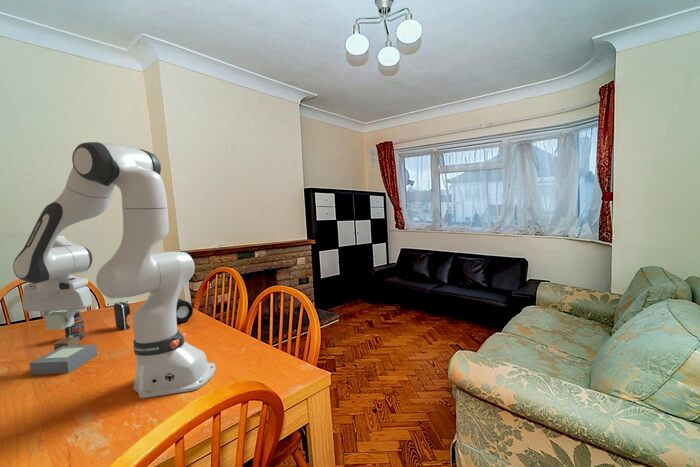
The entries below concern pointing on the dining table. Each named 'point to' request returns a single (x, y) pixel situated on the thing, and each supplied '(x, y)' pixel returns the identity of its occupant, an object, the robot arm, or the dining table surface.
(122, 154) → the robot arm
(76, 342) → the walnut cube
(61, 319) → the sage cube
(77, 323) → the supplement bottle
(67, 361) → the base block
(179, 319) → the portable speaker
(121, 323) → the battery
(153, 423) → the dining table surface
